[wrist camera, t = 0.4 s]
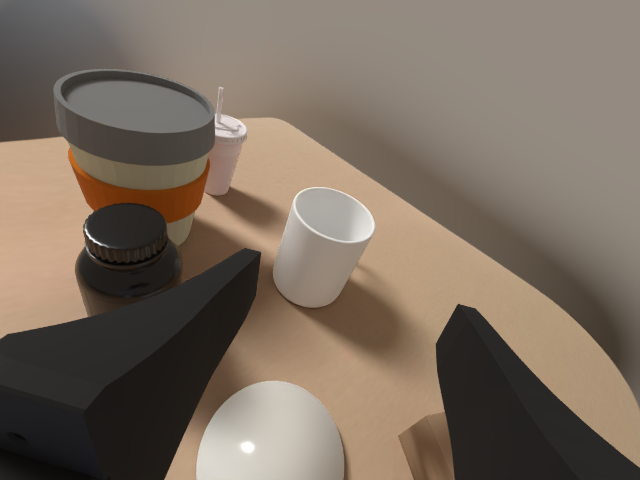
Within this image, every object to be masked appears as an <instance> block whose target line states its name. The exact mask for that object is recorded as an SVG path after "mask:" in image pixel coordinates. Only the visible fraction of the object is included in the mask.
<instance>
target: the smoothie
mask: <svg viewBox="0 0 640 480" xmlns="http://www.w3.org/2000/svg"><path fill="white" fill-rule="evenodd" d="M223 93H224V88H223V87H219V93H218V103H217V113H215V143H214V147H213V148H212V149H211V150H210V152H209V155H208V158H209V160H210V169H209V173H208V177H207V181H206V185H205V189H204V191H205V192H206V193H208V194H211V195H215V196H220V195H224V194H226V193H227V192H228V190H229V187H230V184H231V180H232V177H233V174H234V170H235V167H236V164H237V161H238V157H239V154H240V151H241V148H242V144H243V142H244V141H246V139H247V131H248V130H247V128H246V126H245V125H244V124H243V123H242V122H240V121H239V120H237V119H235V118H233V117H230V116H227V115H223V114H221V112H222V102H223Z"/></svg>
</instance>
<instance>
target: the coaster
mask: <svg viewBox="0 0 640 480" xmlns="http://www.w3.org/2000/svg"><path fill="white" fill-rule="evenodd" d="M196 480H344V453H343V446H342V442H341V438H340V435H339V432H338V429H337V427H336V425H335V422H334V420H333V418H332V417H331V415H330V414H329V412H328V410H327V409H326V408H325V407H324V405H323V404H322V403H321V402H320V401H319V400H318V399H317V398H316V397H315V396H313V395H312V394H311V393H310V392H308V391H306V390H305V389H303V388H301V387H299V386H297V385H294V384H291V383H288V382H282V381H264V382H259V383H255V384H252V385H250V386H247V387H245V388H243V389H241V390H239V391H238V392H236V393H235V394H234V395H232V396H231V397H230V398H229V399H228V400H226V401H225V402H224V403H223V404H222V406H221V407H220V408H219V409H218V410H217V411H216V413H215V414H214V416H213V417H212V419H211V420H210V422H209V424H208V426H207V428H206V430H205V433H204V435H203V438H202V440H201V444H200V448H199V452H198V457H197V464H196Z"/></svg>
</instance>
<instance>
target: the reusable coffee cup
mask: <svg viewBox="0 0 640 480" xmlns="http://www.w3.org/2000/svg"><path fill="white" fill-rule="evenodd" d="M54 101H55V110H56V111H55V112H56V121H57V127H58V129H59V131H60V134H61V135H62V136H63V137H64V138H65V139H66V140H67V141H68V143H69V146H70V148H69V151H68V158H69V161H70V163H71V166H72V168H73V171H74V173H75V175H76V178H77V180H78V183H79V185H80V188H81V190H82V192H83V195H84V197H85V199H86V202H87V204H88V205H89V206H90V207H91V208H92V209H93V210H94V211H97V210H98V209H99V208H103V207H105V206H108V205H112V204H119V203H137V204H144V205H146V206H150V207H151V208H154V209H156V211H158V212H160V214H161V215H163V216H164V219H165V220H166V224H167V234H168V238H170V239H171V240H172V241H173V242H174V243H175V244H176V246H179V245H180V244H182V243H183V242H184V241H185V240H186V239H187V237H188V236H189V233H190V230H191V226H192V222H193V217H194V213H195V210H196V209H197V208H198V207H199V205H200V204H201V200H202V197H203V193H204V189H205V185H206V181H207V177H208V173H209V169H210V160H209V158H208V155H209V152H210V150H211V149H212V148H213V147H214V143H215V113H214V108H213V106H212V104H211V102H210V101H208V99H207V98H206V97H204V96H203V95H202V94H200V93H199V92H197V91H195V90H193V89H192V88H190V87H188V86H185V85H183V84H181V83H179V82H176V81H173V80H170V79H167V78H164V77H160V76H156V75H152V74H148V73H142V72H137V71H129V70H118V69H93V70H84V71H79V72H74V73H71V74H68V75H65V76H64V77H62V78H61V79H59V80H58V81H57V82H56V84H55V85H54Z"/></svg>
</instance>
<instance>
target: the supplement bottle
mask: <svg viewBox="0 0 640 480" xmlns="http://www.w3.org/2000/svg"><path fill="white" fill-rule="evenodd" d="M83 228H84V230H83V233H84V237H85V247H84V248H83V250H82V251H81V252H80V254H79V256H78V258H77V260H76V264H75V274H76V279H77V283H78V286H79V289H80V292H81V296H82V299H83V302H84V305H85V308H86V311H87V315H88V317H91V316H94V315H98V314H102V313H105V312H109V311H112V310H115V309H118V308H121V307H124V306H127V305H130V304H133V303H136V302H139V301H142V300H145V299H147V298H150V297H152V296H155V295H157V294H160V293H162V292H165V291H167V290H169V289H172V288H174V287H176V286H178V285H180V284H182V256H181V253H180V251H179V249H178V247H177V246H176V244H175V243H174V242H173V241H172V240H171V239H170V238H168V234H167V224H166V220H165V219H164V216H163V215H161V214H160V212H158V211H156V209H154V208H151V207H150V206H146V205H144V204H137V203H119V204H112V205H108V206H105V207H103V208H99V209H98V210H97V211H94V212H93V214H91V215H89V217H88V219H86V220H85V224H84V225H83Z"/></svg>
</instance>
